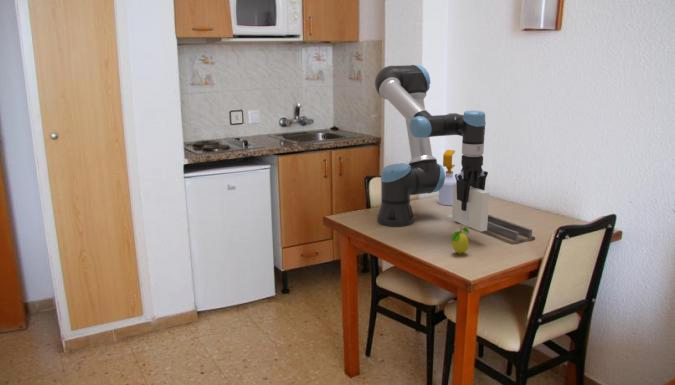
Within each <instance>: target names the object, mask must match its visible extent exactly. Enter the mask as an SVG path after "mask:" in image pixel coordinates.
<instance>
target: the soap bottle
mask: <svg viewBox="0 0 675 385" xmlns="http://www.w3.org/2000/svg"><path fill="white" fill-rule="evenodd" d="M455 152H456V150H455V149H447V150H446V151H445V152H444V153H443V156H442V167H443V168H444V167H446V169H447V170H446V171H445V181H444V184H443V186H442V188H441V189H440V190H439V191H438V201H437V202H438V203H439V205H442V206H448V207H449V206H450V207H451V206H452V207H453V186H454V184H456V178H455V176H454V171H453V170H452V169H453V168H454V167H455V166H456V165H455V164H453V155H454V154H455Z"/></svg>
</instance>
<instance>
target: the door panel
mask: <svg viewBox="0 0 675 385" xmlns="http://www.w3.org/2000/svg"><path fill="white" fill-rule="evenodd" d="M467 202H469V220H466V219H463V218H462V210H461V203H462V202H461V201H459V200H457V185H456V184H454V186H453V205H452V210H451V211H452V213H451V214H452V216H451V220H452V221H454V222H455V221H456V222H455V223H457V222H458V223H457V224H460V223H461V224H460V225H464V226H466V227H467V228H469V227H471V228H473V229H472V230H474V229H475V230H474V231H477V230H478V231H477V232H479V231H480V233H482V232H481V231H486V230H487V223H488V215H489V206H490V205H489V204H490V191H487V190H481V189H478V188H474V187H471V186H470V190H469V196H468V201H467ZM471 228H470V229H471Z"/></svg>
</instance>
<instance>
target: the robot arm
mask: <svg viewBox="0 0 675 385" xmlns="http://www.w3.org/2000/svg"><path fill="white" fill-rule="evenodd" d="M374 87H375V91H376V93H377V94H378V95H379V96H380V97H381V99H383V100H387V101H388V102H389V103H390V104H391V105H392V106H393V107H394V108H395V109H396V110H397V112H399V114H401V115H402V117H404V118H405V123H406V124H405V125H406V129H407V130H406V131H407V138H408V144H409V145H408V146H409V151H410V157H411V160H409V162H408V163H406V162H405V163H403V162H402V163H393V164H390V165H386V166H384V167H383V169H382V170H381V174H380V176H381V177H380V183H381V185H380V186H381V190H380V191H381V192H380V193H381V194H380V195H381V201H380V206H379V209H378V212H377V215H376V219H377V220H376V222H377V223H378V225H379V224H380V225H381V226H382V225H383V226H387V227H404V226H405V227H406V226H410V225H412V224H414V222H415V215H414V212H413V209H412V208H413V207H412V206H411V196H414V195H415V196H416V195H423V194H424V195H425V194H432V193H437V192H439V190H440V189H441V188H442V186H443V184H444V181H445V176H446V171H445V169H444V167H443V165H442V164H439V163H438V161H437V160H438V159H437V158H436V157H434V156H433V152H432V146H431V145H432V144H431V140H430V138H432V137H443V136H444V137H446V136H447V137H448V136H460V137H462V142H461V167H462V168H461V170H460V172H459V173H455V174H454V178H456V185H457V200H459V201H461V202H462V203H461V210H462V218H463V219H466V220H469V202H467V201H468V196H469V190H470V185H471V183H472V187H474V188H478V189H481V190H484V191H486V190H485V188H486V181H487V177H488V176H489V175H488V174H489V173H488V171H485V170H483V168H482V167H483V166H484V156H483V155H484V152H485V151H484V150H485V133H486V112H484V111H483V110H466V111H464V112H463V114H459V113H456V112H455V113H452V112H451V113H447V114H441V115H440V114H439V115H438V114H437V115H436V114H435V115H432V114H431V113H430V112H429V111H427V109H426V108H425V101H424V100H425V98H426V96H427V93H428V91H429V90H430V89H431V88H430V87H431V77H430V74H429V72H428V70H427V69H426V68H425V67H424V66H422V65H417V64H409V65H408V64H407V65H387V66H385V67H383V68H382V69H381V70H380V71H379V72H378V73H377V74H376V76H375V79H374Z"/></svg>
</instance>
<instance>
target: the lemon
mask: <svg viewBox="0 0 675 385" xmlns="http://www.w3.org/2000/svg"><path fill="white" fill-rule="evenodd" d="M462 231H463V232H465V234H464V233H463V232H462ZM466 234H470V231H469V227H468V226H466V227H463V228H462V227H460V230H459V231H456V232H454V233H453V235H452V237H451V246H452V249H453V250H454V252H456V253H457V254H458V255H462V253H465V252H467V251H468V250H469V246H470V244H469V238H468V236H467V235H466Z"/></svg>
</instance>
